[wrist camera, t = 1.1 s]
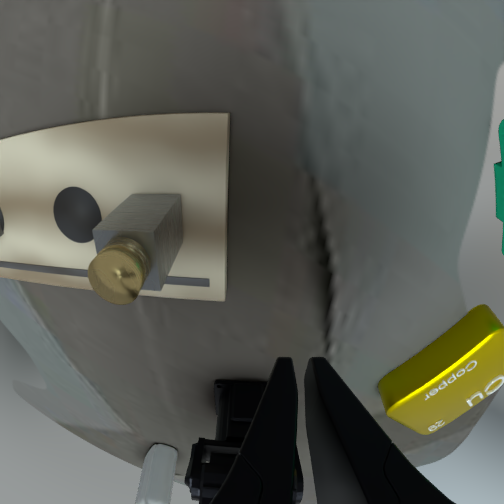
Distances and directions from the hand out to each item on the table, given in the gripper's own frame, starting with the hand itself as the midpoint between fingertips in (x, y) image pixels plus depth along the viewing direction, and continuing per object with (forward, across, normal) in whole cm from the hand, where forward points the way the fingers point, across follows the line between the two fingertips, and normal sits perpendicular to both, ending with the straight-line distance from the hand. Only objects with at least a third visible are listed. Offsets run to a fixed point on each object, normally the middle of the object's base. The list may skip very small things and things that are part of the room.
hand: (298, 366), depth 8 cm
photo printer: (+12, +14, +40) cm, 44 cm away
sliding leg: (+10, +7, 0) cm, 12 cm away
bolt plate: (+12, +16, 0) cm, 20 cm away
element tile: (+13, -22, +17) cm, 31 cm away
